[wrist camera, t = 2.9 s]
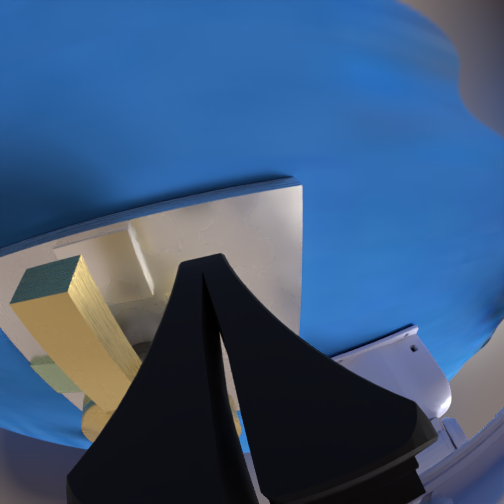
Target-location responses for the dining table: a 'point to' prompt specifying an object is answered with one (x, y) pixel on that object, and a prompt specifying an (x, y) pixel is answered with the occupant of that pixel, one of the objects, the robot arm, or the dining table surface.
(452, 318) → the dining table surface
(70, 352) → the gold bar with disc
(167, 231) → the base plate
